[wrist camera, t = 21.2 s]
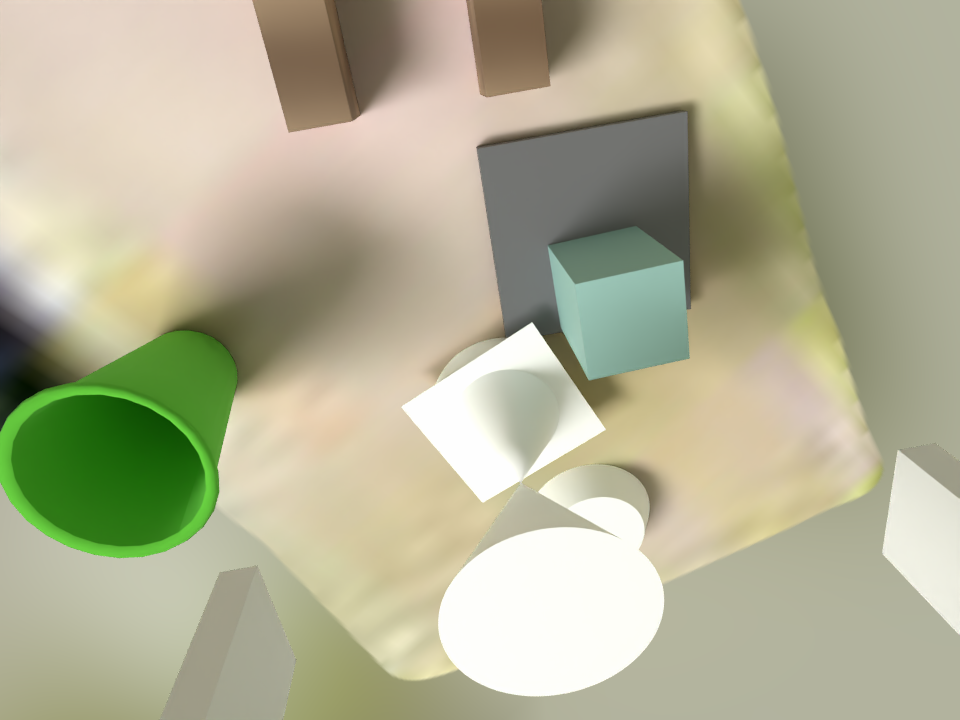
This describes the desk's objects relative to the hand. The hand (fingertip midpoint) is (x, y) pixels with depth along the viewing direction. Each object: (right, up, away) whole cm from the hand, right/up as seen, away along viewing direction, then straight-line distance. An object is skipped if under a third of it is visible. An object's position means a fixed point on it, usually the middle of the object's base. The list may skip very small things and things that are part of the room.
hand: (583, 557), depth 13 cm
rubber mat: (+4, +11, +22) cm, 25 cm away
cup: (-19, +4, +24) cm, 31 cm away
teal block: (+5, +9, +23) cm, 25 cm away
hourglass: (+2, -3, +29) cm, 29 cm away
